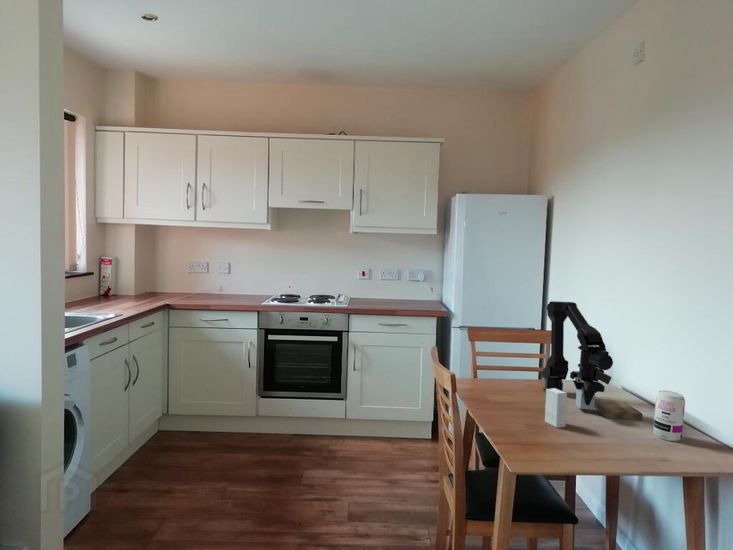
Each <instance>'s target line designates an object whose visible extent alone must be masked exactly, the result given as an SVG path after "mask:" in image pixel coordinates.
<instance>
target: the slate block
mask: <svg viewBox="0 0 733 550" xmlns="http://www.w3.org/2000/svg"><path fill="white" fill-rule="evenodd" d="M575 393H576V394H575V405H576V406H577V407H578V408H579V409H580V410H581V409H583V410H595V408H594V400H596V399H595V397H596V393H595V394H594V396H593V398H592V400H591V402H590V404H589V405H586V403H585V400H584V396H583V392H582V390H580V389H576V392H575Z"/></svg>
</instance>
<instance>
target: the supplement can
mask: <svg viewBox="0 0 733 550" xmlns="http://www.w3.org/2000/svg"><path fill="white" fill-rule="evenodd" d="M655 396H656V397H655V407H654V417H653V426H652V427H653V429H652V433H653V434H654V436H655V437H657V438H659V439H662V440H664V441H669V442H679V441H680V440H682V438H683V430H684V416H685V407H686V399H685V397H684V395H683V394H682V393H679V392H676V391H670V390H658V393H657V394H656V395H655Z"/></svg>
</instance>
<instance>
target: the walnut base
mask: <svg viewBox="0 0 733 550" xmlns="http://www.w3.org/2000/svg"><path fill="white" fill-rule="evenodd" d="M594 410H596V411H597V412H599V413H600V414H601V415H602V416H604V418H607V419H608V418H609V419H618V420H620V419H622V420H633V421H643V413H642V412H641V411H639V410H638V409H636V408H635V407H633V406H632V405H630V404H629V403H628V402H626V401H625V402H624V401H614V400H613V401H612V400H602V399H601V400H598V399H595V400H594Z"/></svg>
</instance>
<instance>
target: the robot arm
mask: <svg viewBox="0 0 733 550" xmlns="http://www.w3.org/2000/svg"><path fill="white" fill-rule="evenodd" d="M546 310H547V311H546V312H547V317H548V319H549V320H550V322H551V326H550V327H551V334H550V337H551V340H550V341H551V342H550V345H551V346H550V356H549V357H548V359H547V360H546V366H545V368H544V369H543V370H542V371H541V377H542V378H544V388H542V390H543V391H544V392H545V393H546V389H551V388H556V389H558V390H561V391H563V390H564V383H563V380H566V379H567V376H568V373H569V361H568V360H566V358H565V356H564V341H565V340H564V339H565V338H564V333H565V332H564V327H565V326H564V325H565V321H566V319H568V318H569V320H570V323H572V325H573V327H574V328H575V329H576V333H577V335H576V337H577V339H578V342H579V343H580V346H578V347H577V349H578V350H580V357H579V358H580V359H579V363H577V367H578V368H579V371H577V370H573V371H571V372H570V374H569V378H570V379H572V382H573V384H574V386H575V388H576V390H577V389H580V390H582V392H583V396H584V400H585V403H586V405H589V404H590V402H591V400H592V398H593V396H594V394H595V395H596V393H605V389H606V386H605V385H609V384H610V382H611V380H612V376H610V375H608V374H607V373H605V371H608V370H610V369H611V368H612V367H613V364H614V361H613V359H612V357H611V355H609V353H610V352H609V351H607V348H606V344H605V342H604V339H603V336H602V334H601V333H600V331H598V329H597V328H595V327H594V326H592V325H590V324H589V323H588V321H587V320H586V318H585V317H584V315H583V313H582V312H581V311H580V310H579V307H578V305H577V303H576V302H574V301H573V302H572V301H557V300H556V301H554V300H553V301H552V300H551V301H550V302H549V303H548V304H547V305H546ZM574 379H575V380H574ZM601 382H602V383H601ZM603 383H604V384H605V385H603ZM563 392H564V391H563Z"/></svg>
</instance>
